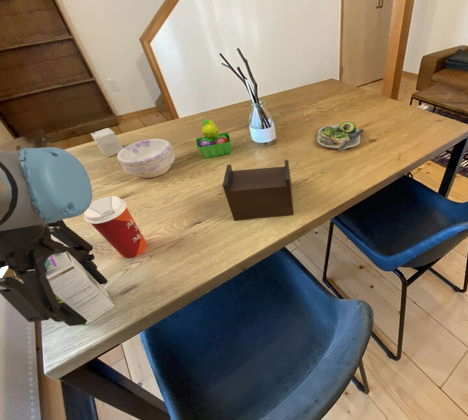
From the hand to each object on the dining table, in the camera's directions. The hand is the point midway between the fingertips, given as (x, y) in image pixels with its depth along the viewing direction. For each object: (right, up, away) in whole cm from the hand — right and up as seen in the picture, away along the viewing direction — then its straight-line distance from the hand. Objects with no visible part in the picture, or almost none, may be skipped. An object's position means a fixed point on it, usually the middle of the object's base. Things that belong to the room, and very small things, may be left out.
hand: (89, 301), depth 54 cm
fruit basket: (+7, +39, +46) cm, 61 cm away
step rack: (+29, +21, +26) cm, 44 cm away
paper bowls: (-11, +31, +38) cm, 50 cm away
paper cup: (0, +8, +13) cm, 15 cm away
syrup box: (0, -2, +2) cm, 2 cm away
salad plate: (+52, +46, +53) cm, 87 cm away
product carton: (-32, +40, +47) cm, 69 cm away
